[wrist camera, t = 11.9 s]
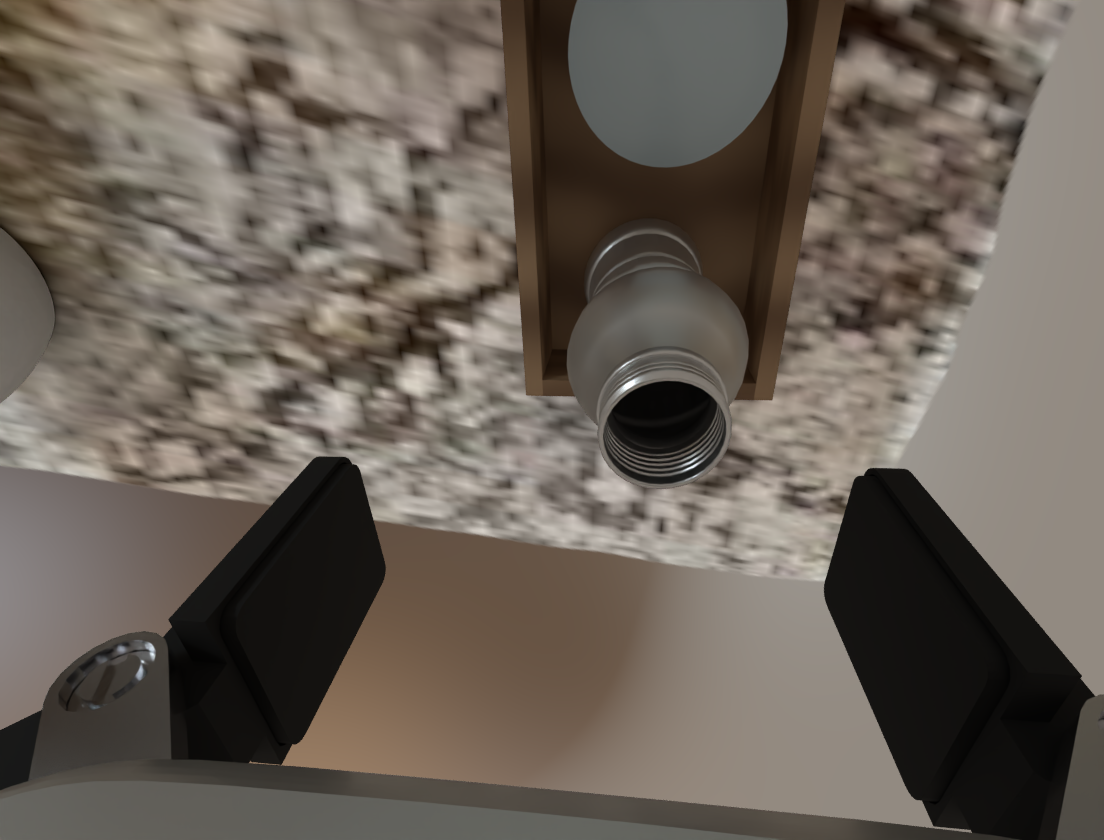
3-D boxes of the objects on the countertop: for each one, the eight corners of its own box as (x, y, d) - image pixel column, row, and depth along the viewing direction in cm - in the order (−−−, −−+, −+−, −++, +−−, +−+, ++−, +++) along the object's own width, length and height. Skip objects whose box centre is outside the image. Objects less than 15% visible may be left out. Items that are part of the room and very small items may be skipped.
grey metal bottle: (564, 275, 33) (497, 440, 15) (643, 185, 30) (672, 262, 12) (638, 342, 34) (655, 563, 17) (721, 263, 31) (845, 431, 14)
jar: (585, -10, 26) (565, -84, 17) (741, -22, 25) (807, -106, 16) (586, 158, 29) (570, 170, 20) (722, 153, 28) (768, 164, 20)
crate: (519, -60, 26) (493, -107, 21) (818, -85, 24) (871, -145, 19) (540, 357, 36) (526, 395, 31) (749, 359, 35) (772, 400, 30)
